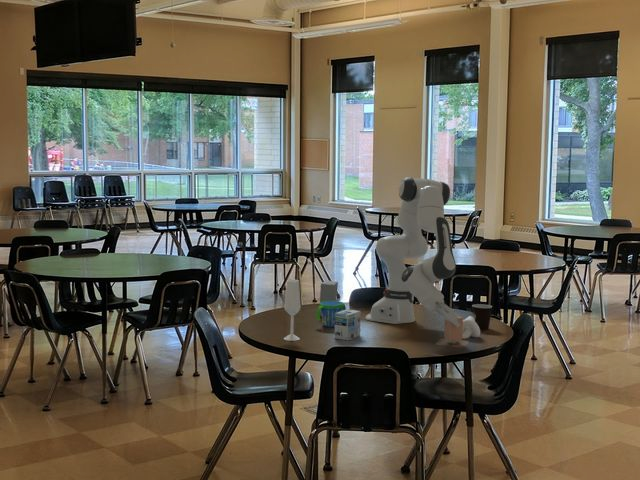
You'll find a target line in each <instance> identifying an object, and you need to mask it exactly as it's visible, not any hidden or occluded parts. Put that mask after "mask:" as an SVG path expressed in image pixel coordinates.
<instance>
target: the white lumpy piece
mask: <svg viewBox="0 0 640 480" xmlns="http://www.w3.org/2000/svg"><path fill="white" fill-rule="evenodd" d="M480 334H481V330H480V328H479V326H478V325H477V323H476V322H475V319H474V318H473V315H472V316H471V315H469V316H467V317H466V318H463V333H462V340H463V339H469V338H479V337H480Z"/></svg>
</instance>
